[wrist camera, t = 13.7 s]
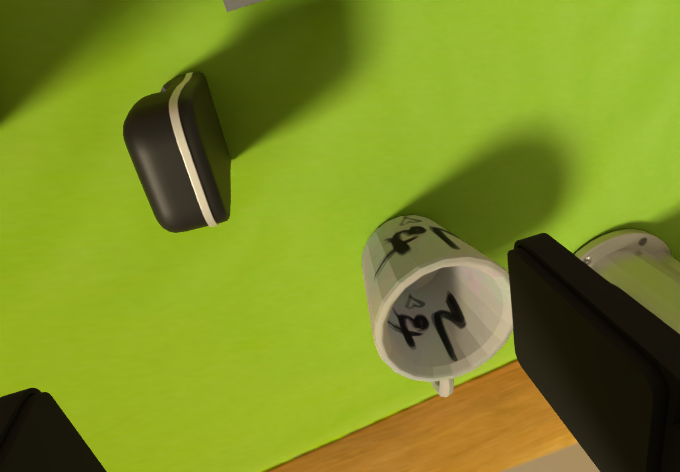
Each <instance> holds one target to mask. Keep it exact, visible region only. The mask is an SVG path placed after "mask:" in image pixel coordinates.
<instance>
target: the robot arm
mask: <svg viewBox="0 0 680 472" xmlns="http://www.w3.org/2000/svg"><path fill="white" fill-rule="evenodd" d="M508 270H509V282H510V295H511V307H512V320H513V332H514V345H515V353H516V356H517V359H518V361H519V363H520V365H521V367H522V368H523V370H524V371H525V372H526V374H527V375H528V376H529V378H530V379H531V380H532V382H533V383H534V384H535V385H536V387H537V388H538V389H539V391H540V392H541V393H542V395H543V396H544V397H545V399H546V400H547V401H548V403H549V404H550V405H551V407H552V408H553V409H554V411H555V412H556V413H557V415H558V416H559V417H560V419H561V420H562V421H563V423H564V424H565V425H566V427H567V428H568V429H569V431H570V432H571V433H572V435H573V436H574V437H575V439H576V440H577V441H578V443H579V444H580V445H581V447H582V448H583V449H584V450H585V452H586V453H587V454H588V456H589V457H590V459H591V460H592V461H593V462H594V464H595V465H596V467H597V468H598V469H599V470H600V472H680V262H679V261H678V260H676V259H674V258H673V256H672V254H671V251H670V249H669V248H668V246H667V245H666V244H665V243H664V242H663V241H662V240H660V239H659V238H658V237H656V236H654V235H652V234H650V233H648V232H646V231H642V230H638V229H625V230H619V231H614V232H611V233H608V234H605V235H602V236H601V237H599V238H597V239H595V240H593V241H591V242H590V243H588V244H587V245H585V246H584V247H583V248H581V249H580V250H579V251H578V252H577V253H575V254H573V253H571V252H570V251H569V250H567V249H566V248H565V247H564V246H562V245H561V244H560V243H558V242H557V241H556V240H555V239H553V238H552V237H551V236H549V235H548V234H546V233H541V234H538V235H534V236H531V237H528V238H524V239H521V240H518V241H516V242H515V245H514V249H513V250H510V251H509V252H508ZM0 472H106V470H105V469H104V468H103V466H102V465H101V463H100V462H99V461H98V459H97V458H96V457H95V455H94V454H93V452H92V451H91V450H90V448H89V447H88V446H87V444H86V443H85V441H84V440H83V439H82V437H81V436H80V434H79V433H78V432H77V430H76V429H75V428H74V426H73V425H72V423H71V422H70V421H69V419H68V418H67V417H66V415H65V414H64V412H63V411H62V410H61V408H60V407H59V406H58V404H57V403H56V401H55V400H54V399H53V397H52V396H51V395H50V394H49V393H47V392H41V391H40V390H38V389H36V388H29V389H26V390H22V391H19V392H16V393H12V394H9V395H6V396H3V397H1V398H0Z"/></svg>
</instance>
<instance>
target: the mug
mask: <svg viewBox="0 0 680 472" xmlns="http://www.w3.org/2000/svg"><path fill="white" fill-rule="evenodd" d="M362 270H363V277H364V283H365V289H366V295H367V301H368V308H369V314H370V320H371V326H372V333H373V339H374V342H375V345H376V347H377V350H378V352H379V355H380V357H381V359H382V360H383V361H384V362H385V363H386V364H387V365H388V366H389V367H390V368H391V369H392V370H393V371H394V372H396V373H398V374H400V375H403V376H405V377H407V378H409V379H412V380H419V381H429V382H431V383H432V385H433V387H434V388H435V390H436V391H437V392H438V393H439V395H440V396H441V397H448V396H449V395H450V394H452V393H453V387H454V380H453V378H456V377H458V376H461V375H463V374H466V373H468V372H471V371H473V370H475V369H476V368H478V367H479V366H481V365H482V364H484V363H485V362H486V361H488V360H489V359H491V358H492V357H493V356H494V355H495V354H496V353H497V352H498V351H499V349H500V348H501V347H502V346H503V345H504V344H505V343H506V342H507V340H508V338H509V336H510V334H511V332H512V331H513V320H512V307H511V295H510V282H509V274H508V272H507V271H506V269H505V268H503V267H502V266H500V265H499V264H497V263H496V262H494V261H493V260H491V259H490V258H488V257H487V256H485V255H484V254H482V253H481V252H479V251H478V250H476V249H475V248H473V247H472V246H470V245H469V244H467V243H466V242H464V241H463V240H461V239H460V238H458V237H457V236H455V235H453V234H452V233H450V232H449V231H447V230H446V229H444V228H443V227H441V226H440V225H438V224H437V223H435V222H434V221H432V220H430V219H429V218H426V217H421V216H417V215H409V216H399V217H397V218H394V219H392V220H389V221H387V222H385V223H384V224H383V225H382V226H380V227H379V228H378V229H376V230H375V231H374V233H373V234H372V235H371V237H370V238H369V239H368V241H367V243H366V245H365V248H364V251H363V254H362Z"/></svg>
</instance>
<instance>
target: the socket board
mask: <svg viewBox="0 0 680 472" xmlns="http://www.w3.org/2000/svg"><path fill="white" fill-rule="evenodd" d="M260 1H263V0H223V2H224V5H225V7H226V10H227V12H229V11H232V10H235V9H238V8H241V7H245V6H248V5H251V4H254V3H257V2H260Z"/></svg>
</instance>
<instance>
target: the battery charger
mask: <svg viewBox="0 0 680 472" xmlns="http://www.w3.org/2000/svg"><path fill="white" fill-rule="evenodd" d="M123 136H124V141H125V144H126V147H127V149H128V152H129V154H130V157H131V159H132V162H133V164H134V167H135V169H136V172H137V174H138V177H139V179H140V181H141V184H142V186H143V189H144V191H145V194H146V196H147V198H148V201H149V203H150V206H151V208H152V210H153V213H154V215H155V217H156V219H157V221H158V222H159V224H160V225H161V226H162V227H163V228H164V229H166V230H167V231H169V232H175V233H177V232H184V231H189V230H193V229H197V228H201V227H205V226H210V227H214V226H218V225H219V223H221V222H225V221H227V220H228V219H229V216H230V203H231V181H230V168H231V160H230V156H229V153H228V150H227V146H226V143H225V140H224V137H223V133H222V130H221V127H220V123H219V120H218V117H217V114H216V110H215V107H214V104H213V101H212V97H211V94H210V91H209V88H208V85H207V81H206V78H205V76H204V74H203V73H200V72H199V73H193V72H191V73H187V74H186V75H184V76H179V77H176V78H174V79H172V80H170V81H168V82H167V83H166V84H165V85H164V86H163V88H162V90H161V92H160V93H155V94H151V95H148V96H145V97H143V98H142V99H140V100H139V101H138V102H137V103H136V104H135V105H134V106H133V107H132V109H131V110H130V112H129V113H128V115H127V117H126V119H125V121H124V125H123Z"/></svg>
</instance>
